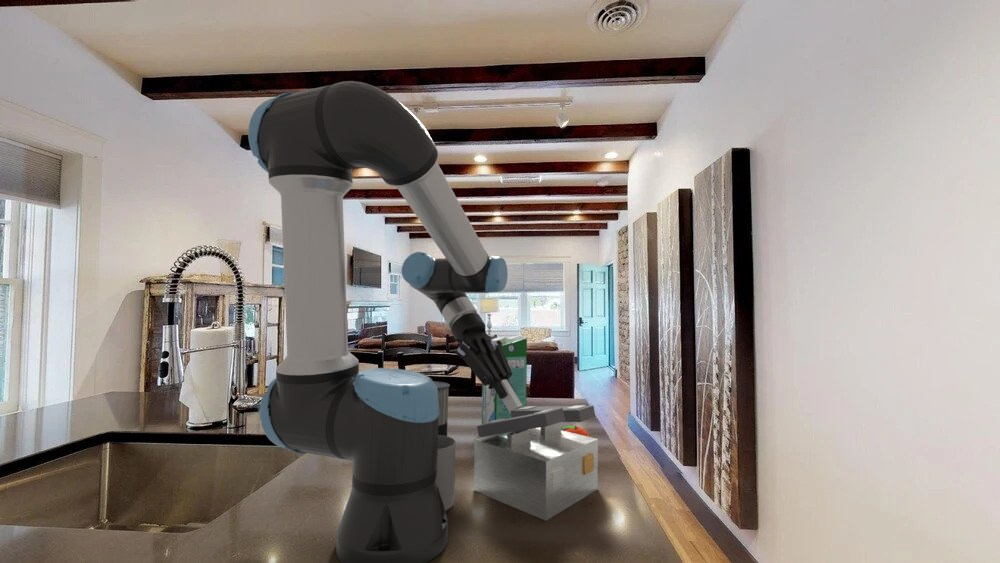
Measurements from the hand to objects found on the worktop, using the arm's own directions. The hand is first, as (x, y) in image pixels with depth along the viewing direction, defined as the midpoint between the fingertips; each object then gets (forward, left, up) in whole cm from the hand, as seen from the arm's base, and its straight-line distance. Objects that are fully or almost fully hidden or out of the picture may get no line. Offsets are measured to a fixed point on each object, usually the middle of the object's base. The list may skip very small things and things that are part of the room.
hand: (516, 409), depth 88 cm
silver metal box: (-5, -9, -12) cm, 16 cm away
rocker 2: (0, -9, +1) cm, 9 cm away
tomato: (+14, -5, -12) cm, 19 cm away
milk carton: (+19, +20, -12) cm, 30 cm away
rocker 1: (-10, -9, 0) cm, 13 cm away
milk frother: (-8, +25, -12) cm, 29 cm away
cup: (-21, +1, -12) cm, 25 cm away
